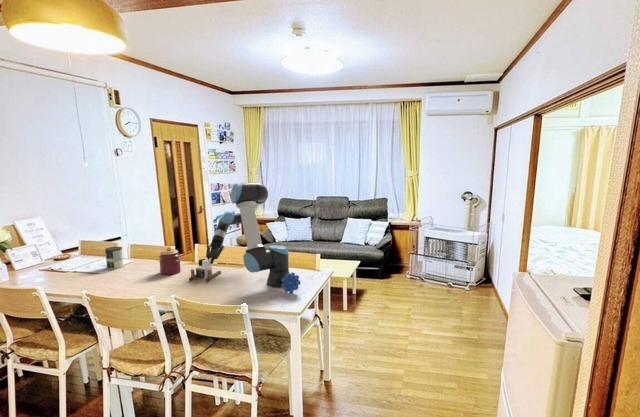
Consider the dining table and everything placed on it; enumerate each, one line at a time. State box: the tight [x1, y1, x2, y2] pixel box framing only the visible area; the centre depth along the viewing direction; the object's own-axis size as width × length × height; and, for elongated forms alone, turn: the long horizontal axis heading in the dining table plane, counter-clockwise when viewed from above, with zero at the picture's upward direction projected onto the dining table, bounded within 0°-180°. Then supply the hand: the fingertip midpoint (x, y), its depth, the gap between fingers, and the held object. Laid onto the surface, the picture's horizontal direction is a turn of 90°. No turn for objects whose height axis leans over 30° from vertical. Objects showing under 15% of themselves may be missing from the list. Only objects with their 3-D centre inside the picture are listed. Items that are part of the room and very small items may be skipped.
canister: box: [158, 246, 182, 276], centre depth 226 cm, size 13×13×18 cm
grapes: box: [280, 272, 301, 294], centre depth 189 cm, size 12×7×12 cm, turn 74°
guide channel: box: [188, 268, 222, 283], centre depth 215 cm, size 17×14×6 cm
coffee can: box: [104, 246, 124, 270], centre depth 238 cm, size 10×10×14 cm
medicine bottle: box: [195, 258, 213, 281], centre depth 215 cm, size 7×7×12 cm
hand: (208, 267), depth 220 cm, fingers closed
